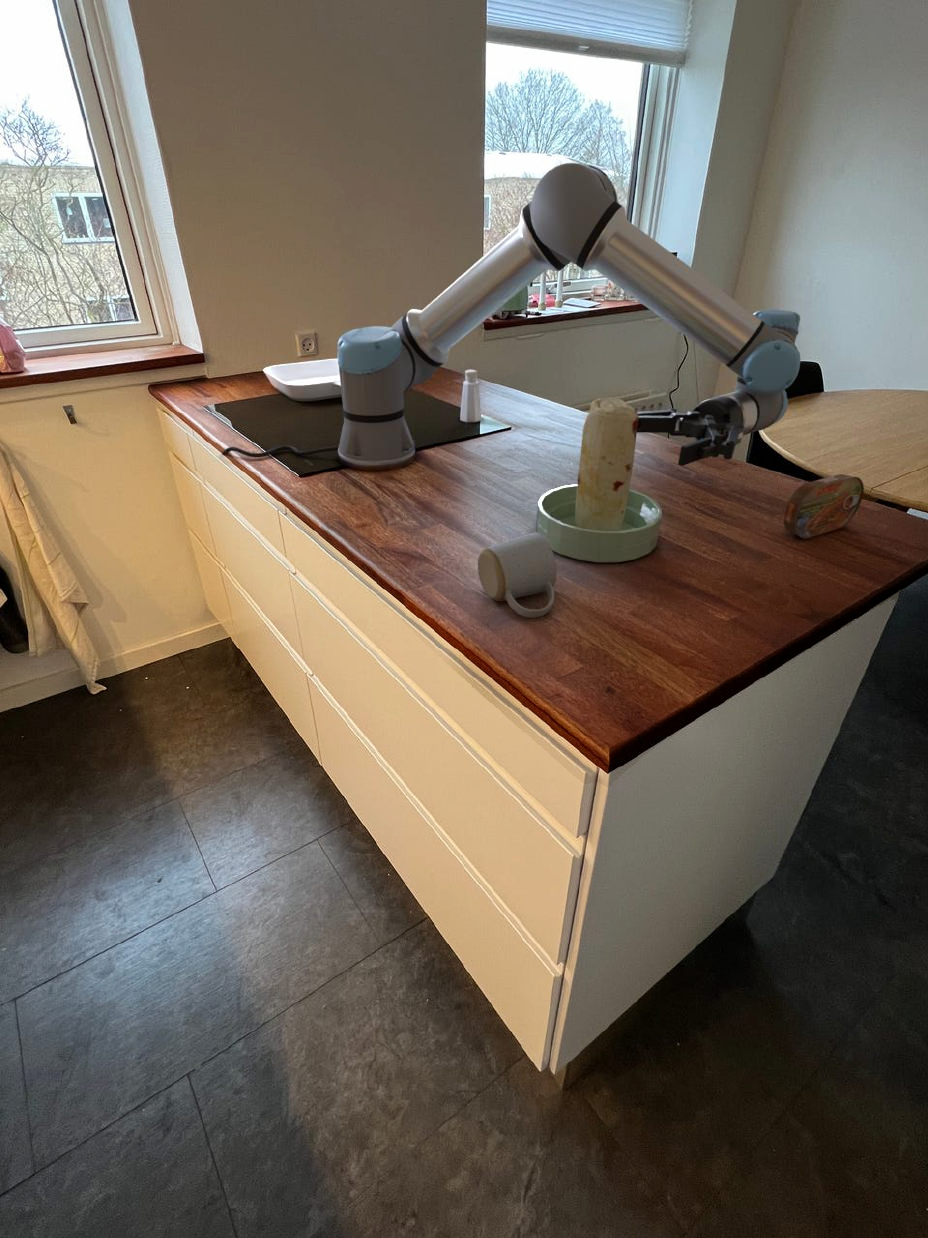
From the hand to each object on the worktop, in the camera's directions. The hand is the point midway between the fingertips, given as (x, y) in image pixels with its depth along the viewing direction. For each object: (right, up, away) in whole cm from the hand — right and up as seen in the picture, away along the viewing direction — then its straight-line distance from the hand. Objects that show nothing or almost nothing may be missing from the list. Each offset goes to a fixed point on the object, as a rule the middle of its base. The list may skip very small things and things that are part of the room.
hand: (642, 444), depth 95 cm
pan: (-62, +34, +75) cm, 103 cm away
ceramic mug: (-19, -24, -12) cm, 33 cm away
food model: (-7, -13, +2) cm, 15 cm away
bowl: (-7, -13, +3) cm, 15 cm away
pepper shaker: (-25, +21, +56) cm, 65 cm away
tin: (+28, -12, +5) cm, 31 cm away
